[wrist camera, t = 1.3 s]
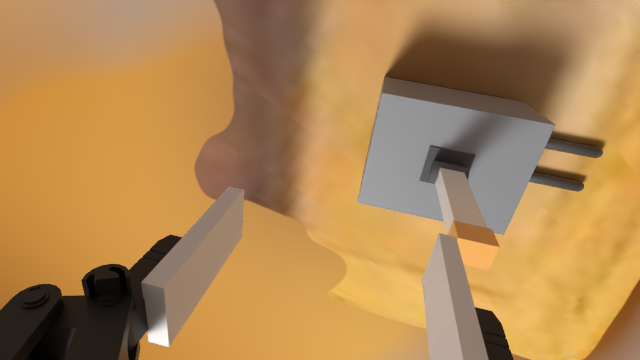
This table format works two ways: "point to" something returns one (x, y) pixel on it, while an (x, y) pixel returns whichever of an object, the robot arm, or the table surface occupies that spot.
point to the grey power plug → (457, 150)
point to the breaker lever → (463, 215)
